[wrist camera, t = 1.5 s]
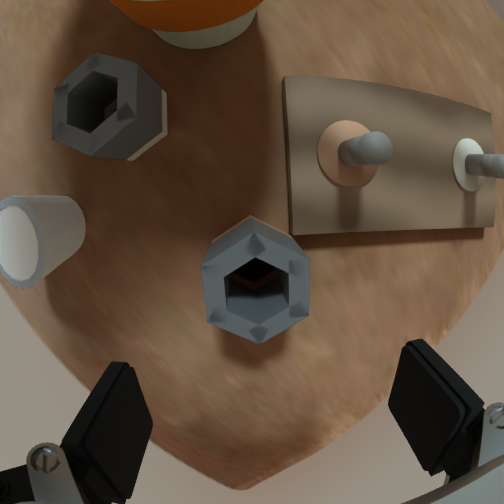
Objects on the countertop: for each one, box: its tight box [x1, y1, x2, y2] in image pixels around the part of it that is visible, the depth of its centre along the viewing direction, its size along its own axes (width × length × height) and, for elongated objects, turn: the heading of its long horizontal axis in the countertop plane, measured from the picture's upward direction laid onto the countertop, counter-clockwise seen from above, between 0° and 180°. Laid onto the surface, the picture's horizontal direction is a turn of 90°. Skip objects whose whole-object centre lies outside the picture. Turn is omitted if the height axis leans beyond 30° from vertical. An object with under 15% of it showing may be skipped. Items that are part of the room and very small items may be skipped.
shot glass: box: [0, 195, 86, 289], centre depth 18 cm, size 7×7×7 cm
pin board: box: [282, 76, 504, 235], centre depth 18 cm, size 12×22×6 cm, turn 93°
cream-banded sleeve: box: [52, 52, 168, 161], centre depth 16 cm, size 7×6×7 cm
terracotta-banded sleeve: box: [201, 215, 310, 344], centre depth 19 cm, size 7×6×7 cm
